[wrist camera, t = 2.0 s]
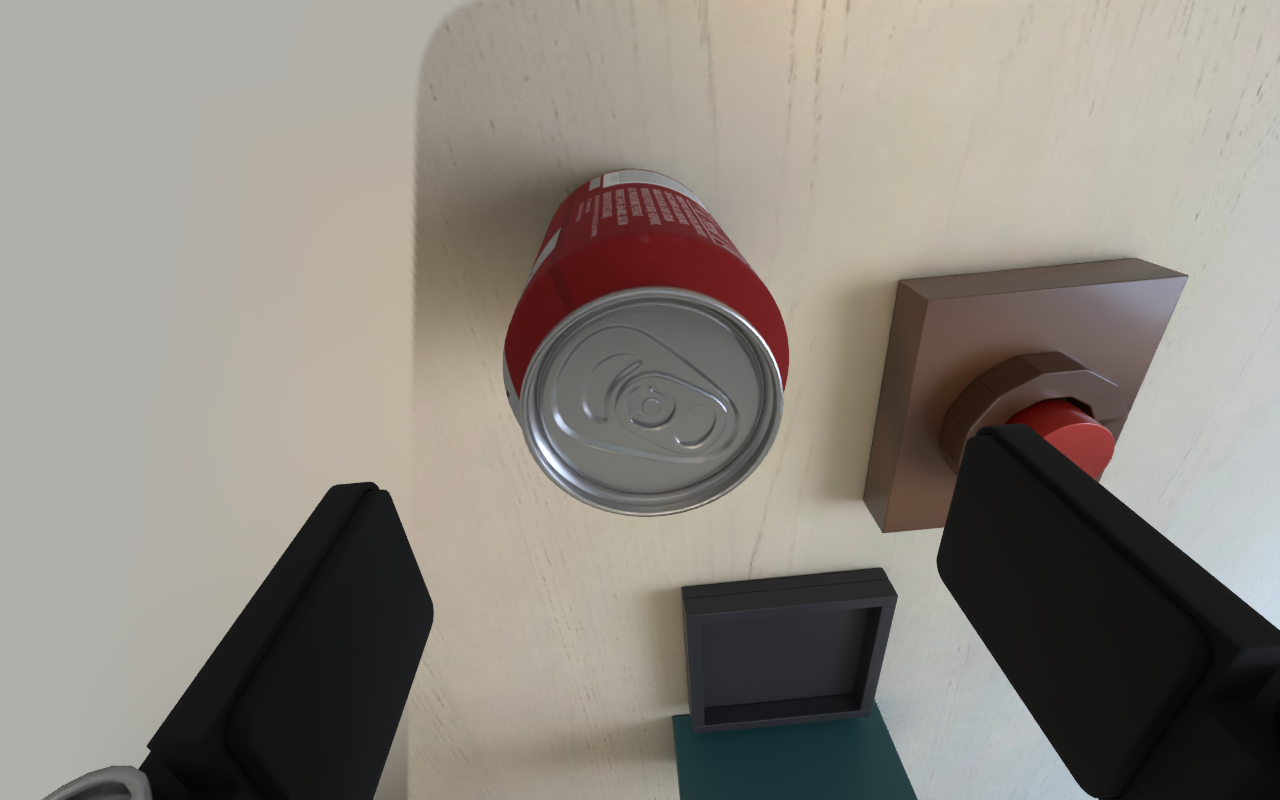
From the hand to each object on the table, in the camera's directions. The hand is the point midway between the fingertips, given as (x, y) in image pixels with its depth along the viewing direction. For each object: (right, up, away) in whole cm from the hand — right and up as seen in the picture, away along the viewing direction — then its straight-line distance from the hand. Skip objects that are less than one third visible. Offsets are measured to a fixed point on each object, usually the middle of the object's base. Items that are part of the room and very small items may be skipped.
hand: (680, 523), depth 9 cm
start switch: (+16, +2, +17) cm, 23 cm away
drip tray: (+8, -13, +25) cm, 30 cm away
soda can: (-1, +8, +13) cm, 15 cm away
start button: (+16, 0, +14) cm, 21 cm away
